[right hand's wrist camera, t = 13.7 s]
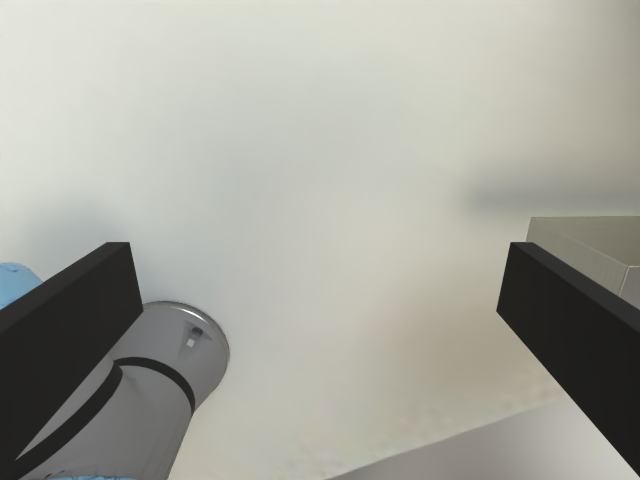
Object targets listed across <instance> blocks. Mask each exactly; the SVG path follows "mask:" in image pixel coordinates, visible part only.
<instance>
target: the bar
mask: <svg viewBox="0 0 640 480" xmlns="http://www.w3.org/2000/svg"><path fill="white" fill-rule="evenodd" d="M526 242H533V243H535V244H537V245H538V246H540V247H541V248H543V249H544V250H546V251H548V252H549V253H551V254H552V255H554V256H556V257H557V258H559V259H560V260H562V261H563V262H565V263H567V264H568V265H570V266H571V267H573V268H574V269H576V270H578V271H579V272H581V273H582V274H584V275H586V276H587V277H589V278H590V279H592V280H593V281H595V282H597V283H598V284H600V285H601V286H603V287H604V288H606V289H608V290H609V291H611V292H612V293H614V294H615V295H617V296H619V297H620V298H622V299H623V300H625V301H627V302H628V303H630V304H631V305H633V306H634V307H636V308H638V309H639V310H640V216H615V217H531V221H530V225H529V230H528V235H527V239H526Z"/></svg>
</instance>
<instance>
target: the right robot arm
mask: <svg viewBox="0 0 640 480" xmlns="http://www.w3.org/2000/svg"><path fill="white" fill-rule="evenodd" d="M496 311H497V313H498V314H499V315H500V316H501V317H502V318H503V320H504V321H505V322H506V323H507V324H508V325H509V327H510V328H511V329H512V330H513V331H514V332H515V333H516V335H517V336H518V337H519V338H520V339H521V340H522V342H523V343H524V344H525V345H526V346H527V347H528V349H529V350H530V351H531V352H532V353H533V354H534V355H535V357H536V358H537V359H538V360H539V361H540V362H541V364H542V365H543V366H544V367H545V368H546V369H547V371H548V372H549V373H550V374H551V375H552V376H553V377H554V379H555V380H556V381H557V382H558V383H559V384H560V386H561V387H562V388H563V389H564V390H565V391H566V392H567V394H568V395H569V396H570V397H571V398H572V399H573V401H574V402H575V403H576V404H577V405H578V406H579V408H580V409H581V410H582V411H583V412H584V413H585V414H586V416H587V417H588V418H589V419H590V420H591V421H592V423H593V424H594V425H595V426H596V427H597V428H598V430H599V431H600V432H601V433H602V434H603V435H604V436H605V438H606V439H607V440H608V441H609V442H610V443H611V445H612V446H613V447H614V448H615V449H616V450H617V451H618V453H619V454H620V455H621V456H622V457H623V458H624V460H625V461H626V462H627V463H628V464H629V465H630V467H631V468H632V469H633V470H634V471H635V472H636V473H637V475H638V476H639V477H640V310H639V309H638V308H636V307H634V306H633V305H631V304H630V303H628V302H627V301H625V300H623V299H622V298H620V297H619V296H617V295H615V294H614V293H612V292H611V291H609V290H608V289H606V288H604V287H603V286H601V285H600V284H598V283H597V282H595V281H593V280H592V279H590V278H589V277H587V276H586V275H584V274H582V273H581V272H579V271H578V270H576V269H574V268H573V267H571V266H570V265H568V264H567V263H565V262H563V261H562V260H560V259H559V258H557V257H556V256H554V255H552V254H551V253H549V252H548V251H546V250H544V249H543V248H541V247H540V246H538V245H537V244H535V243H533V242H511V243H510V248H509V253H508V257H507V262H506V267H505V272H504V277H503V281H502V286H501V291H500V296H499V301H498V305H497V310H496ZM228 362H229V346H228V343H227V340H226V337H225V335H224V333H223V332H222V330H221V329H220V327H219V326H218V325H217V324H216V323H215V322H214V321H213V320H212V319H211V318H210V317H209V316H207V315H206V314H205V313H203V312H201V311H200V310H198V309H196V308H194V307H191V306H189V305H186V304H182V303H178V302H171V301H158V302H152V303H147V304H144V305H142V301H141V296H140V291H139V286H138V281H137V277H136V272H135V267H134V262H133V257H132V253H131V248H130V243H129V242H107V243H105V244H103V245H102V246H100V247H99V248H97V249H96V250H94V251H92V252H91V253H89V254H88V255H86V256H84V257H83V258H81V259H80V260H78V261H77V262H75V263H73V264H72V265H70V266H69V267H67V268H66V269H64V270H62V271H61V272H59V273H58V274H56V275H54V276H53V277H51V278H50V279H48V280H47V281H45V282H42V281H41V280H40V279H39V278H38V277H37V276H36V275H35V274H34V273H33V272H32V271H31V270H30V269H29V268H27V267H25V266H23V265H21V264H17V263H0V480H167V479H168V476H169V474H170V471H171V468H172V466H173V463H174V461H175V458H176V456H177V453H178V451H179V448H180V446H181V443H182V441H183V438H184V436H185V433H186V431H187V428H188V426H189V423H190V420H191V418H192V416H193V413H194V411H195V410H196V409H197V408H198V407H199V406H200V405H201V404H202V403H203V401H204V400H205V399H206V398H207V397H208V396H209V395H210V393H211V392H212V391H214V390H215V389H216V387H217V386H218V385H219V383H220V381H221V379H222V378H223V376H224V374H225V371H226V368H227V365H228Z"/></svg>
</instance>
